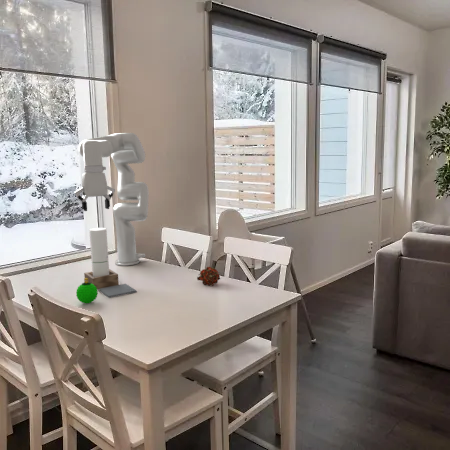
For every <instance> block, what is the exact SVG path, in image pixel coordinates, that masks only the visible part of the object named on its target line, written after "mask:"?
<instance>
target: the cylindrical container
mask: <svg viewBox="0 0 450 450" xmlns="http://www.w3.org/2000/svg"><path fill="white" fill-rule="evenodd" d="M88 231H89V242H90V254H91V255H90V256H91V270H92V271H91V272H93V277H94V278H95V277H100V276H106V275H109V269H110V265H109V249H108V236H107V235H108V234H107V233H108V232H107V228H106V227H94V228H93V227H92V228H89V229H88Z"/></svg>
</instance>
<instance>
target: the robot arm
mask: <svg viewBox="0 0 450 450" xmlns="http://www.w3.org/2000/svg"><path fill="white" fill-rule="evenodd" d="M78 153H79V154H80V156H81V157H83V165H84V173H82V177H81V187H80V188H78V189H77V190H75V191H74V194H75V196H76V197H77V199H79V201H80V202H81V208H82V211H83V212H87V211H88V203H87V199H88V198H93V197H104V208H105V209H107V210H109V209H110V207H111V204H110V202H111V201H110V200H111V198H113V196H114V193H115V191H116V190H117V191H116V192H117V193H116V194H117V198H118V199H119V200H121V201H129V202H119V203H116V204H114V206H113V209H112V214H113V218H114V223H115V234H116V247H117V248H116V250H117V252H116V253H117V259H116V260H115V261H114V263H115V265H117V266H121V267H123V266H125V267H126V266H135V265H137V264H139V263H140V259H141V258H146V253H138V252H137V245H136V244H137V243H136V241H137V240H136V228H135V226H134V225H133V223H132V222H144V221H146V220H147V219H148V215H149V214H148V213H149V195H150V194H149V186H148V184H147V183H146V182H144V181H135V179H136V177H135V176H136V174H135V171H134V169H133V168H132V166H130V165H129V164H142V163H144V162H145V159H146V151H145V148H144V146H143V144H142V142H141V140H140V138H139V136H138V135H137V134H136V133H134V132H119V133H117V132H116V133H112V134H109V135H103V136H98V137H92V138H87V139H86V138H85V139H84V140H81V142H79V145H78ZM110 156H111V159H112V162H113V165H114V166H115V168H116V171H117V189H115V188H113V187H112V186H109V185H108V183H107V177H106V174H105V172H104V171H106V170H107V167H106V166H104V165H103V158H108V157H110ZM109 191H110V192H109ZM80 193H81V194H82V196H81V194H80ZM108 193H109V194H108ZM131 201H137V202H131Z"/></svg>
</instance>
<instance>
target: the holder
mask: <svg viewBox="0 0 450 450" xmlns="http://www.w3.org/2000/svg"><path fill="white" fill-rule="evenodd" d="M83 274H84V276H83V277H84V278H88V282H90V283H92V284H93V285H95V286H96V288H97V290H99V289H100V288H105V287H110V286H116V285H120V283H119V282H120V281H119V274H118V273H117V272H115V271H114V270H112V269H110V268H109V275H106V276H100V277H95V278H94V277H93V272H92V271H87V272H84V273H83ZM85 281H87V280H85Z"/></svg>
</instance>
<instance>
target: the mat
mask: <svg viewBox="0 0 450 450" xmlns="http://www.w3.org/2000/svg"><path fill="white" fill-rule="evenodd" d="M98 292H100V293H102V294H103V295H104V296H106V297H107V298H109V299H110V298H114V297H119V296H124V295H129V294H130V295H131V294H134V293H137V289H135V288H134V287H132V286H130V285H129V284H127V283H122V284H119V285H116V286H110V287H105V288H100V289H98Z"/></svg>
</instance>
